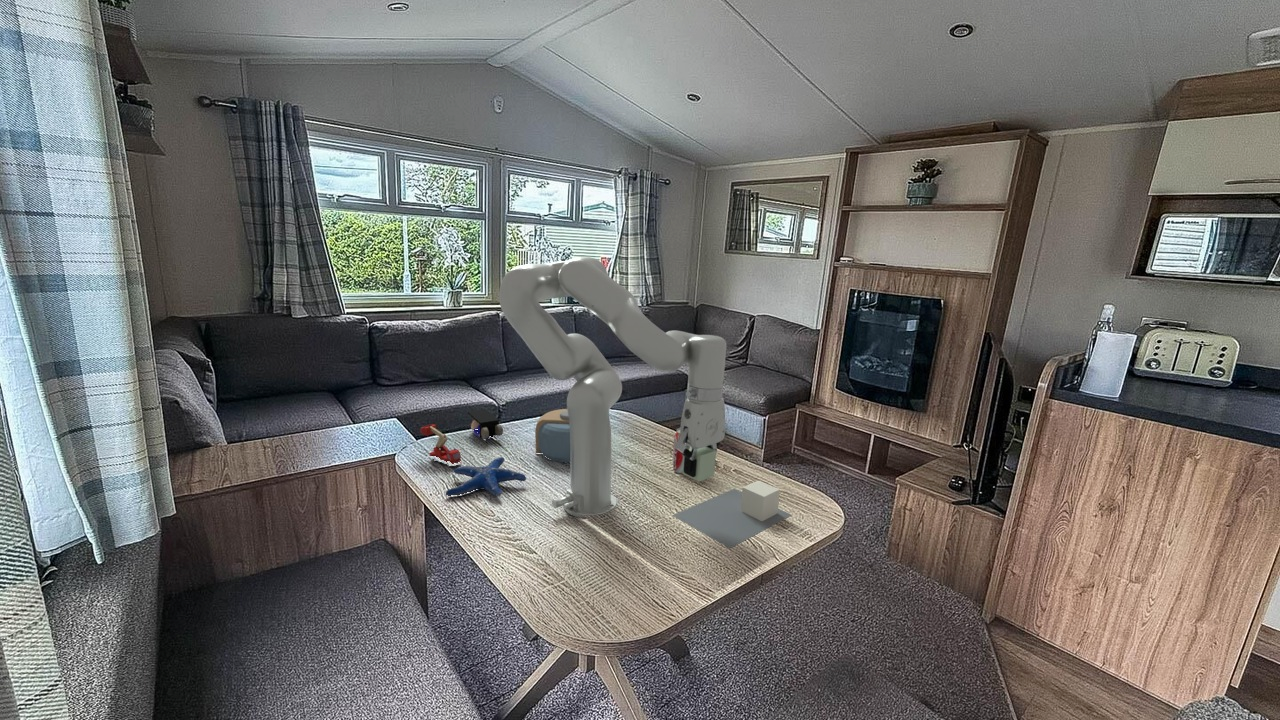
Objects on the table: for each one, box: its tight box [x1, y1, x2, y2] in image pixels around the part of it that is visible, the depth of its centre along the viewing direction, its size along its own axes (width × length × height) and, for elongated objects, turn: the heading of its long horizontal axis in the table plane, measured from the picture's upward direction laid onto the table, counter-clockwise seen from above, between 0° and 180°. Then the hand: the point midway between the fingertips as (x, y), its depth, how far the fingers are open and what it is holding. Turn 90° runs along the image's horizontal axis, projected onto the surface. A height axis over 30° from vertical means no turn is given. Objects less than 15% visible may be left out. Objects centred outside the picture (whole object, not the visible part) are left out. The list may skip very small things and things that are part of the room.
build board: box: [672, 480, 792, 549], centre depth 119 cm, size 22×17×7 cm
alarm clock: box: [534, 408, 570, 463], centre depth 157 cm, size 19×20×12 cm
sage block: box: [681, 447, 717, 483], centre depth 116 cm, size 5×5×6 cm
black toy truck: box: [467, 408, 504, 440], centre depth 167 cm, size 7×8×15 cm
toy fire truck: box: [419, 424, 462, 464], centre depth 147 cm, size 3×14×10 cm, turn 58°
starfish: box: [445, 456, 527, 497], centre depth 132 cm, size 19×19×5 cm
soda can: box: [672, 427, 684, 474], centre depth 144 cm, size 7×7×12 cm
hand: (698, 470), depth 116 cm, fingers closed on sage block, 4 cm apart
